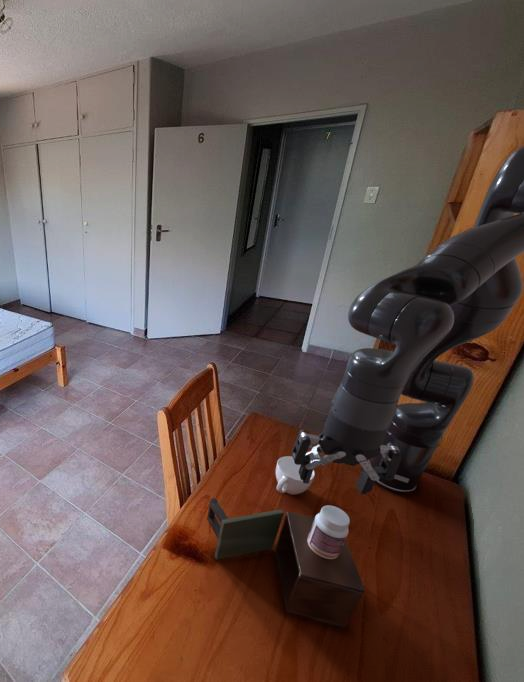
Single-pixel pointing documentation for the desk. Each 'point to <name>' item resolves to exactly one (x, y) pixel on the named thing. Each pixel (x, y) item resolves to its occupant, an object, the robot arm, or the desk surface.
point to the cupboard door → (243, 531)
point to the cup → (290, 477)
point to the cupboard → (315, 576)
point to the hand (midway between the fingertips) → (332, 485)
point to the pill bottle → (329, 532)
